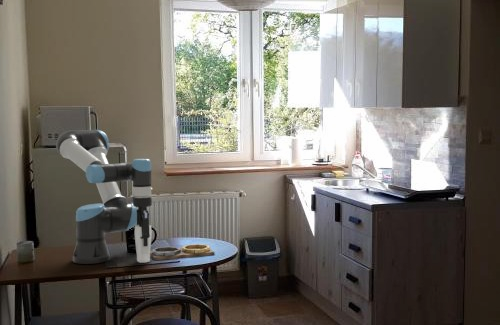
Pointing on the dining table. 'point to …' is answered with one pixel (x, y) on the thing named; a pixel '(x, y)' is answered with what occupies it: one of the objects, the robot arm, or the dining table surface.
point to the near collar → (174, 250)
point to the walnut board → (181, 254)
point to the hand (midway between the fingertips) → (143, 252)
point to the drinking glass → (141, 257)
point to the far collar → (188, 249)
